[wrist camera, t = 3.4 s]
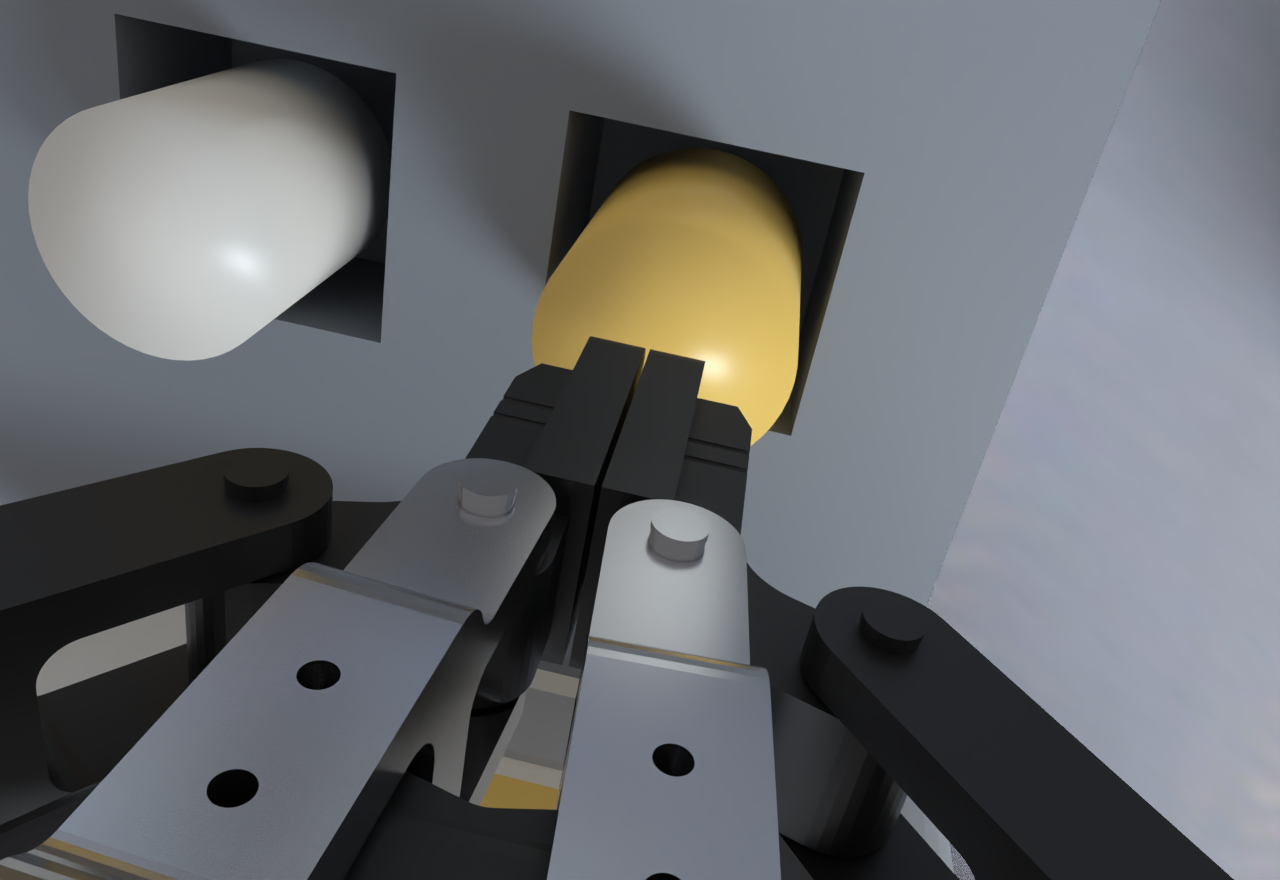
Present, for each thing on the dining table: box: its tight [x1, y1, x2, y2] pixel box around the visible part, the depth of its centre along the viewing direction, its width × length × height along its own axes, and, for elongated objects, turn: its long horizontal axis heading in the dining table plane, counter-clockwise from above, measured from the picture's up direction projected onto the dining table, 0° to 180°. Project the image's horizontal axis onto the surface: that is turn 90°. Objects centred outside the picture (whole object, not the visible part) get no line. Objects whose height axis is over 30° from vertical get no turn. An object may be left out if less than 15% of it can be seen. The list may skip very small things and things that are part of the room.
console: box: [0, 0, 1161, 810], centre depth 17 cm, size 20×24×10 cm
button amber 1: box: [532, 148, 802, 446], centre depth 18 cm, size 4×4×5 cm
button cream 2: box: [28, 59, 392, 361], centre depth 18 cm, size 4×4×5 cm
